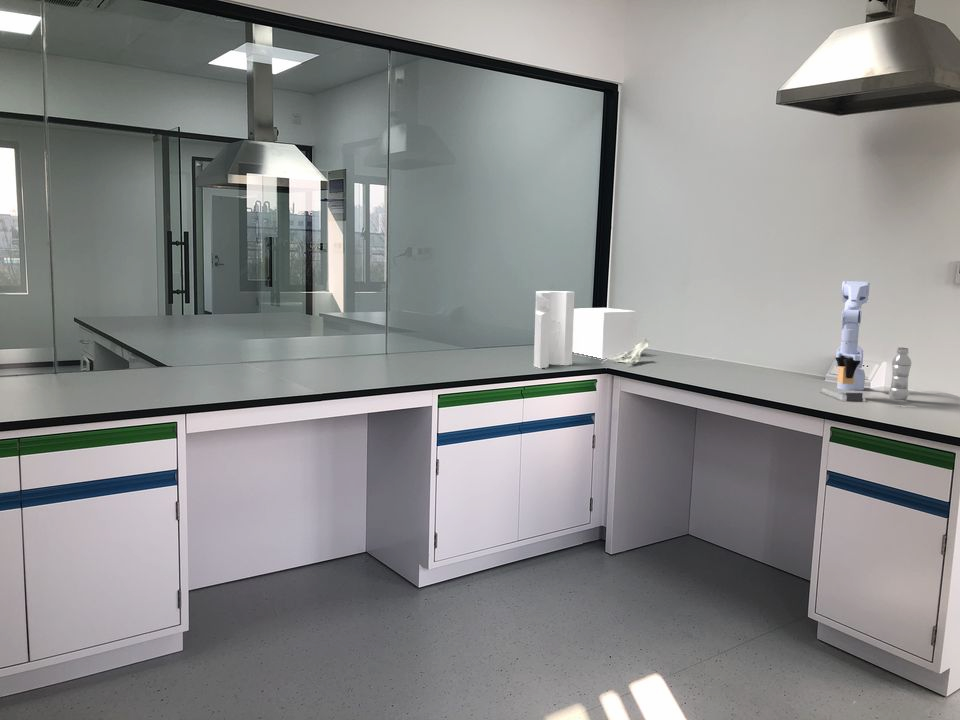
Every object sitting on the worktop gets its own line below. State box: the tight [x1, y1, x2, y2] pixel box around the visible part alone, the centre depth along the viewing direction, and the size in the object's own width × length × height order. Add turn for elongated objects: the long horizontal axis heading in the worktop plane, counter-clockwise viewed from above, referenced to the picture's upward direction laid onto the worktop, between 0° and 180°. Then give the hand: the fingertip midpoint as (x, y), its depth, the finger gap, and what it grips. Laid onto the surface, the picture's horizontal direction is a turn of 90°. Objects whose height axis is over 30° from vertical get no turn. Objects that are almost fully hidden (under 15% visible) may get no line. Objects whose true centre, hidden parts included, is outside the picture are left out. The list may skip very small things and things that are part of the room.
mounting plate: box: [819, 387, 867, 403], centre depth 291 cm, size 10×18×4 cm, turn 0°
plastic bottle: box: [888, 347, 912, 401], centre depth 289 cm, size 6×7×20 cm
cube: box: [572, 307, 637, 360], centre depth 401 cm, size 25×21×24 cm
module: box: [836, 366, 855, 384], centre depth 289 cm, size 4×4×6 cm
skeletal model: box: [601, 337, 649, 368], centre depth 374 cm, size 16×9×25 cm
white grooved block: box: [533, 290, 575, 368], centre depth 359 cm, size 35×11×21 cm
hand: (846, 377), depth 289 cm, fingers closed on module, 4 cm apart
